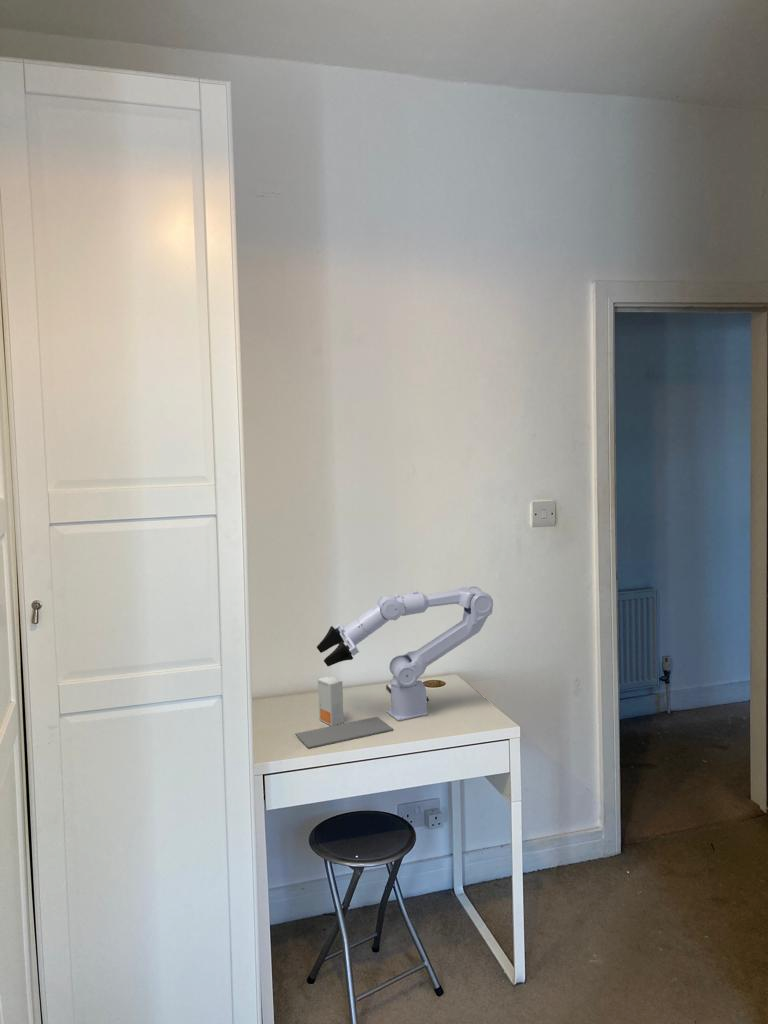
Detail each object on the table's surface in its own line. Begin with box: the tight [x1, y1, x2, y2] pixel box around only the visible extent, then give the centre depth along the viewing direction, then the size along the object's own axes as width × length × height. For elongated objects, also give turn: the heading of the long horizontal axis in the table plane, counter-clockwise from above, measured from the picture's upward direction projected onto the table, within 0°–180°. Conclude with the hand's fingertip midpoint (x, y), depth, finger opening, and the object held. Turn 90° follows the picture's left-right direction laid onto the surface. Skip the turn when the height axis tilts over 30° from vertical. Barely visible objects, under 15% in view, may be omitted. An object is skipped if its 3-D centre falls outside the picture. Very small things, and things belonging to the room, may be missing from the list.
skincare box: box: [317, 675, 345, 726], centre depth 213 cm, size 6×4×12 cm
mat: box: [294, 716, 394, 750], centre depth 206 cm, size 24×10×1 cm, turn 116°
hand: (322, 656), depth 212 cm, fingers open, 7 cm apart
